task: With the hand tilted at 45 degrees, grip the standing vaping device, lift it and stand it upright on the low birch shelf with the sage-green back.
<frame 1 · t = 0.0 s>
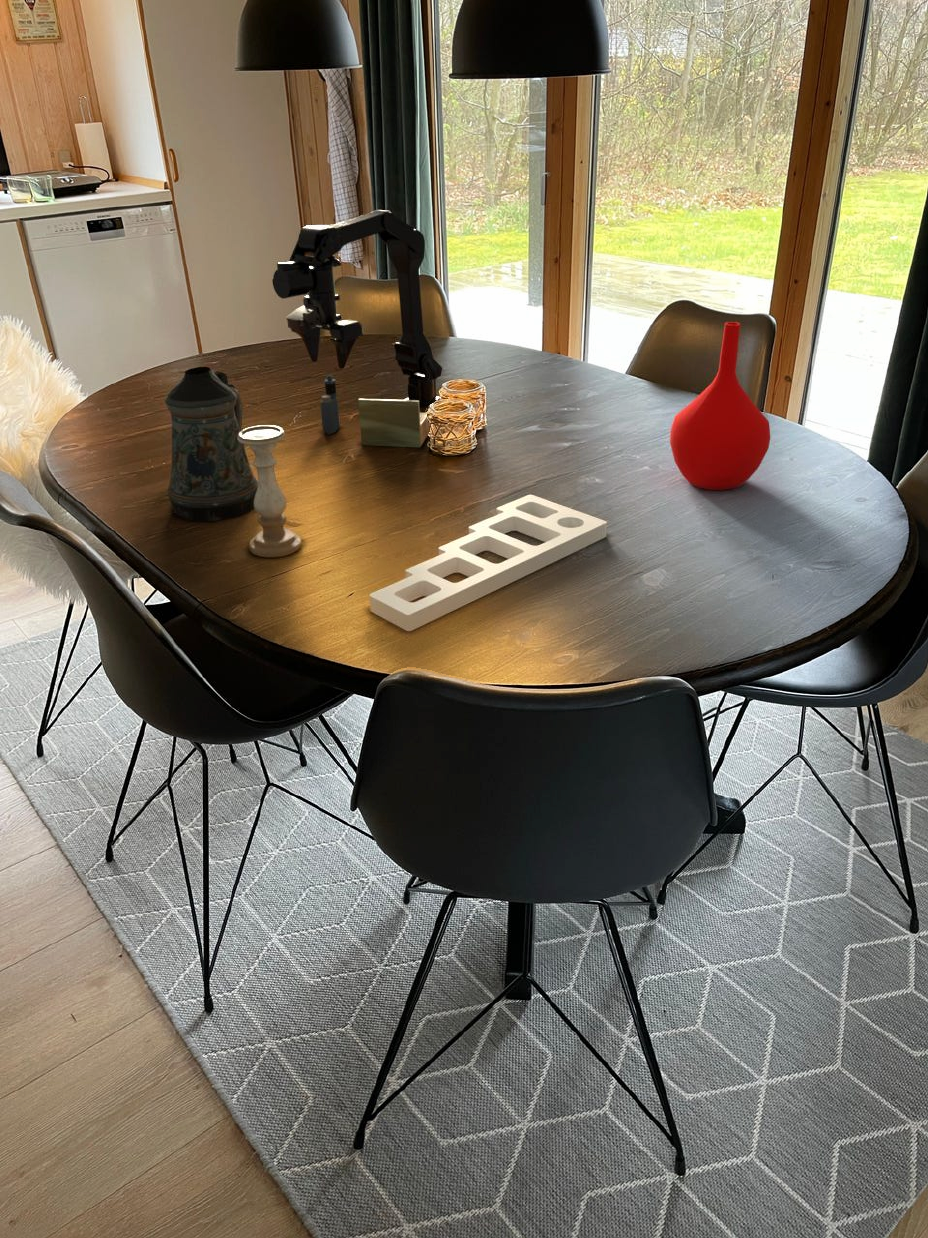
hand: (328, 364, 209), 15 cm above the table, tool pointing down, fingers open, 9 cm apart
beer stein: (216, 502, 182), on the table
vaping device: (331, 431, 216), on the table
holder: (476, 563, 157), on the table
vase: (714, 482, 185), on the table
candle holder: (275, 548, 163), on the table
shelf: (396, 437, 211), on the table
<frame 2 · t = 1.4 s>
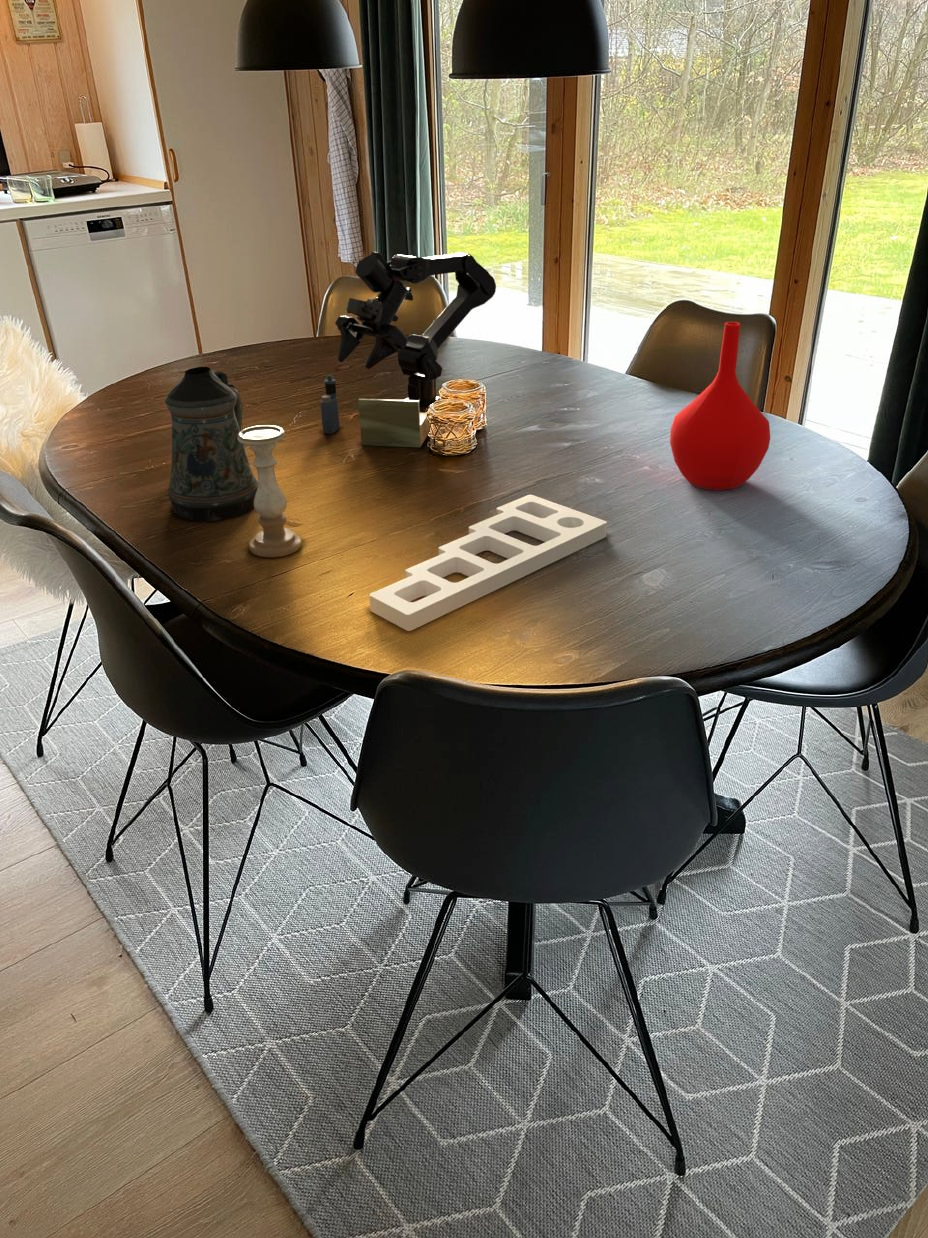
hand: (353, 364, 215), 13 cm above the table, tool tilted 45°, fingers open, 9 cm apart
nothing on the table moved.
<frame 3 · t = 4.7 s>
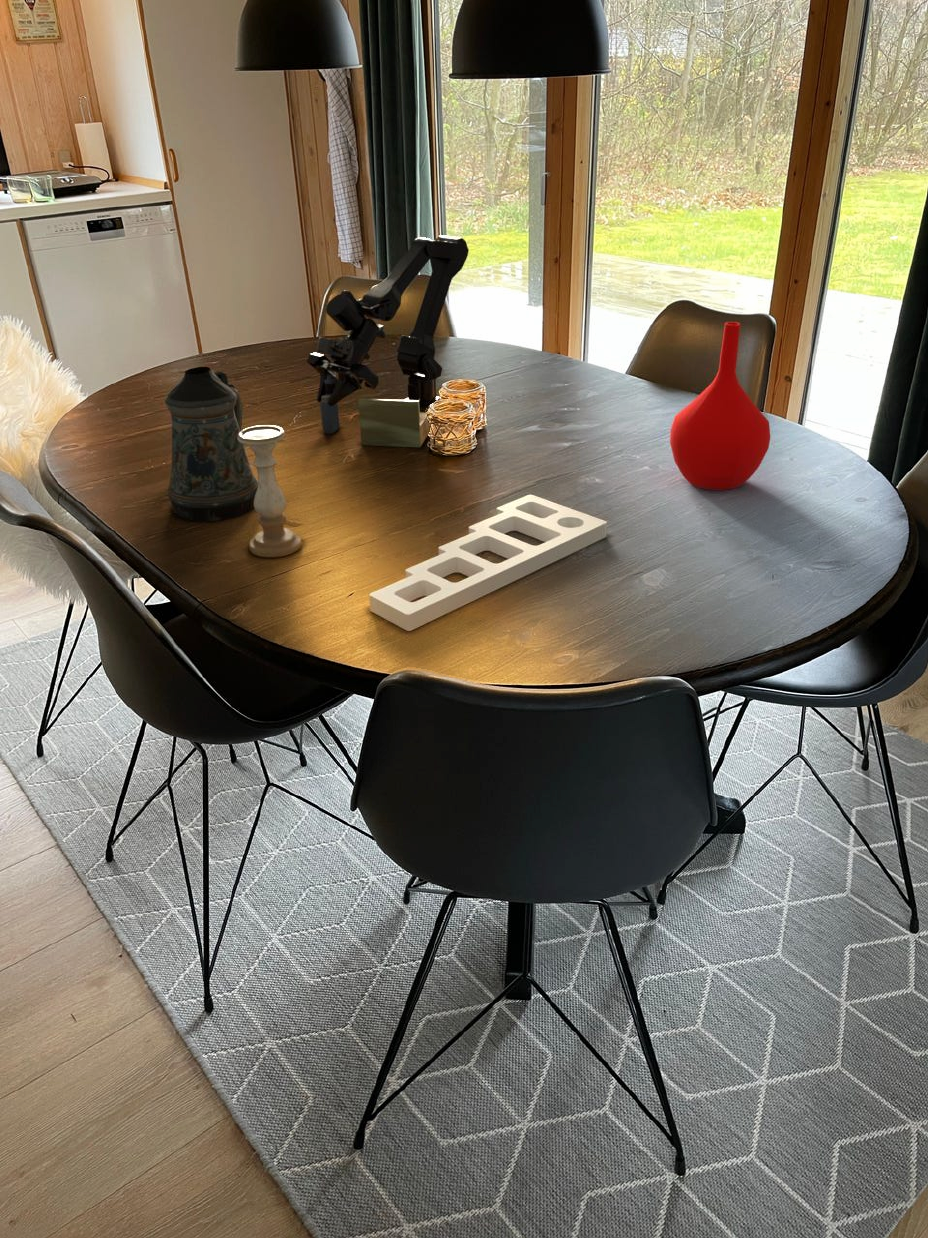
hand: (324, 403, 212), 7 cm above the table, tool tilted 45°, fingers closed on vaping device, 3 cm apart
vaping device: (331, 431, 216), on the table, touching gripper
everything else where it was.
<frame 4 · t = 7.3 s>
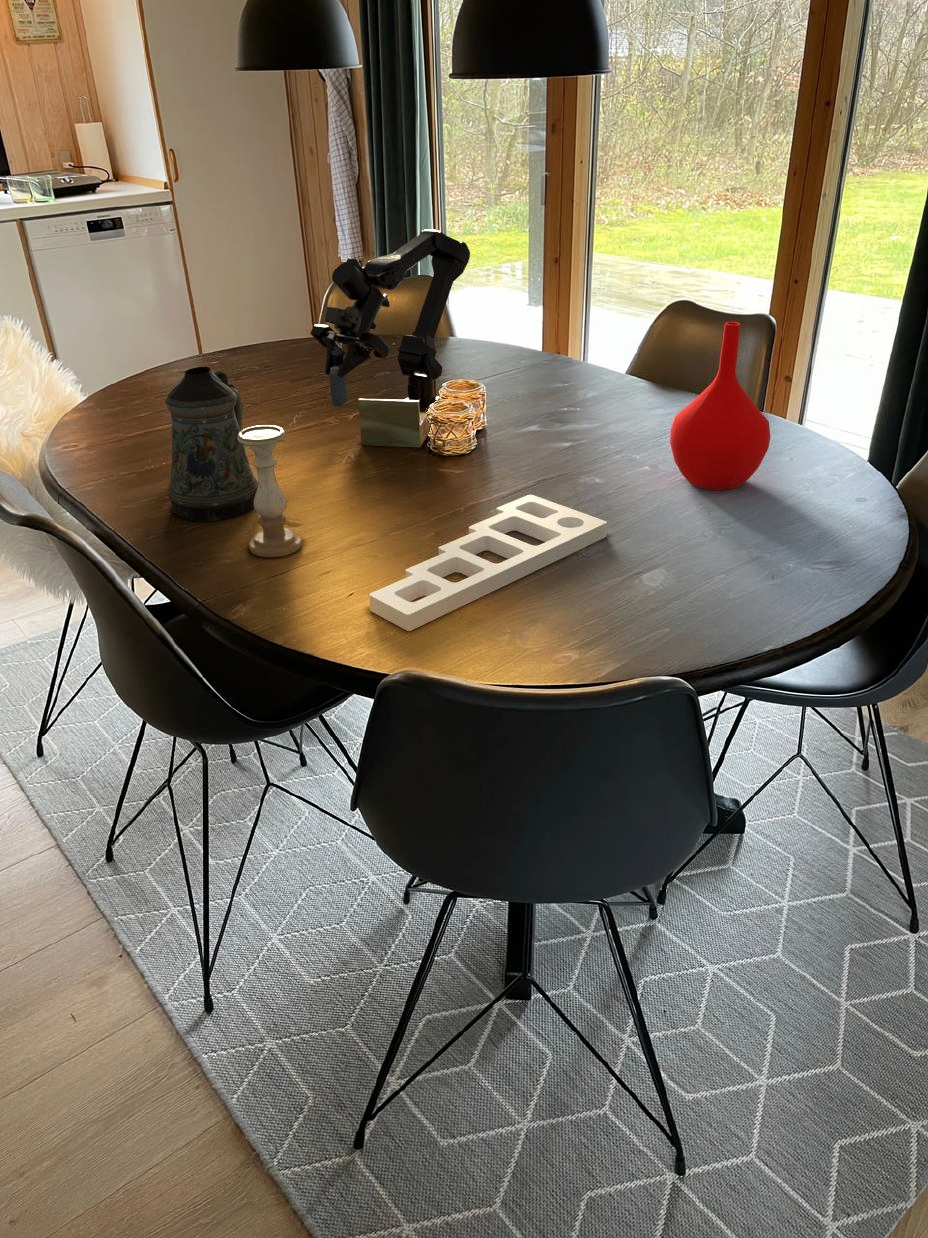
hand: (333, 375, 207), 13 cm above the table, tool tilted 45°, fingers closed on vaping device, 3 cm apart
vaping device: (340, 403, 212), point 7 cm above the table, touching gripper
everything else where it was.
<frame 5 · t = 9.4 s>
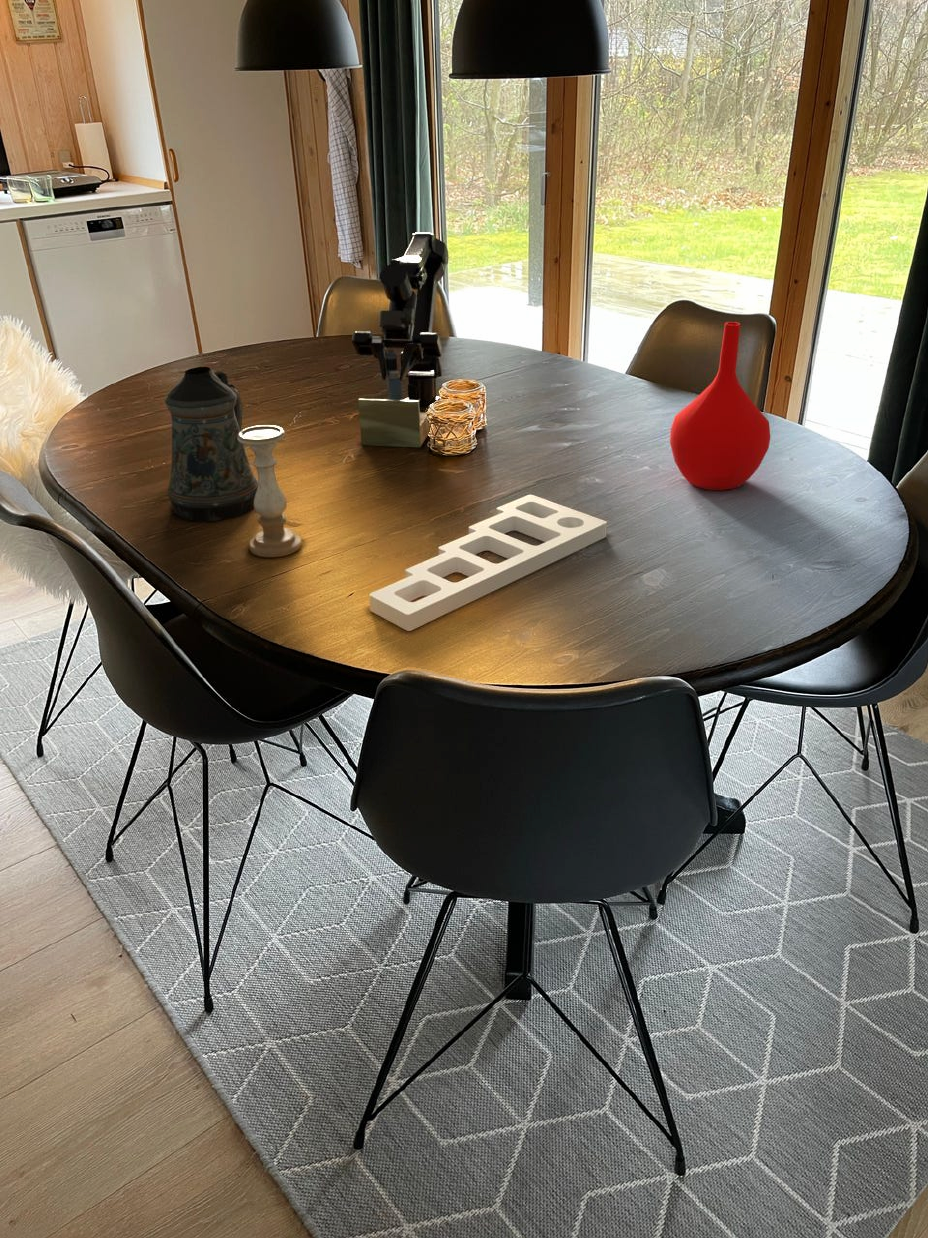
hand: (392, 379, 204), 13 cm above the table, tool tilted 45°, fingers closed on vaping device, 3 cm apart
vaping device: (395, 408, 208), point 6 cm above the table, touching gripper
everything else where it was.
when the fingers open (11 cm above the table, at t = 10.5 s): vaping device stays where it is, resting on shelf.
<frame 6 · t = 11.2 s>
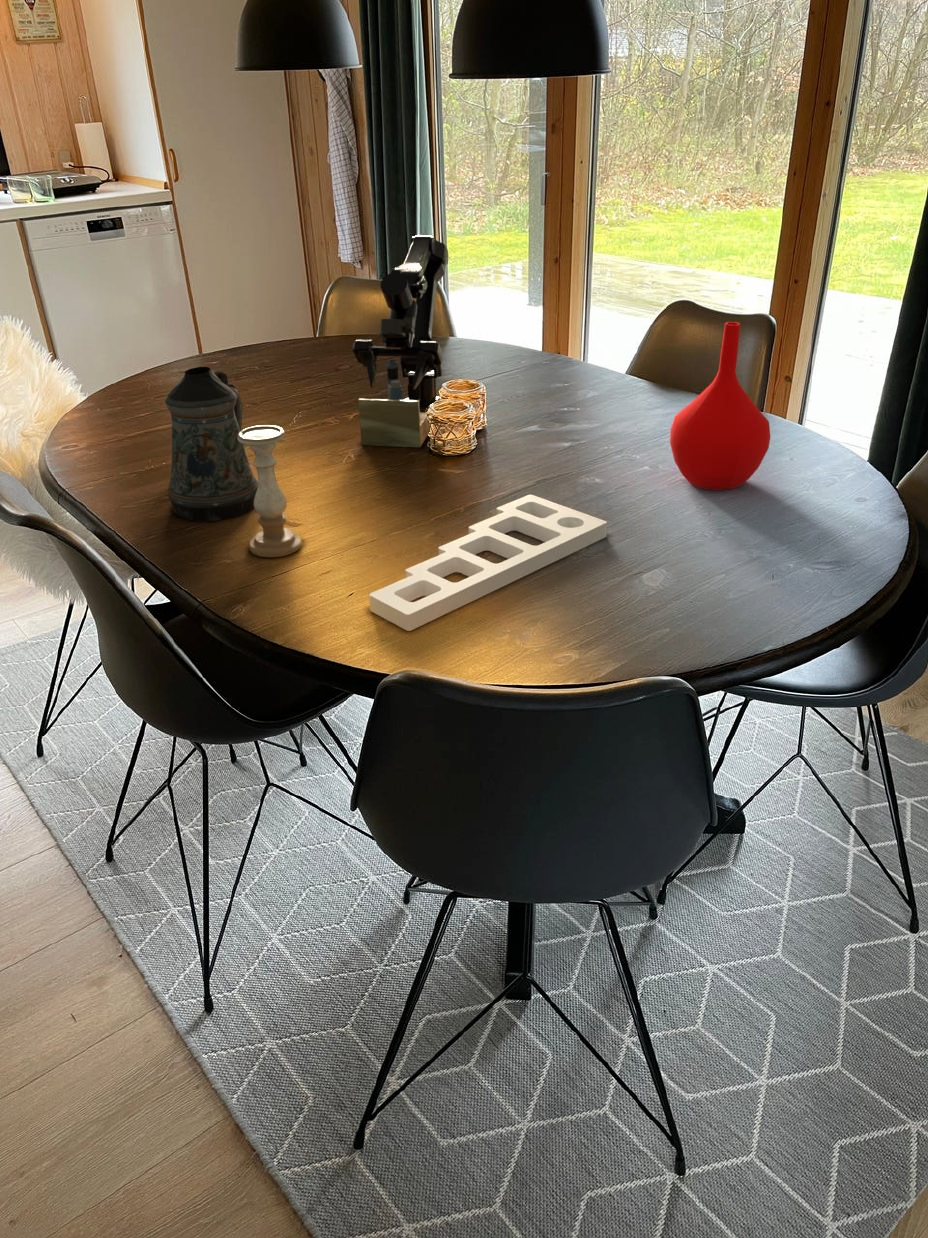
hand: (392, 387, 205), 11 cm above the table, tool tilted 45°, fingers open, 9 cm apart
vaping device: (396, 417, 209), point 4 cm above the table, touching shelf
everything else where it was.
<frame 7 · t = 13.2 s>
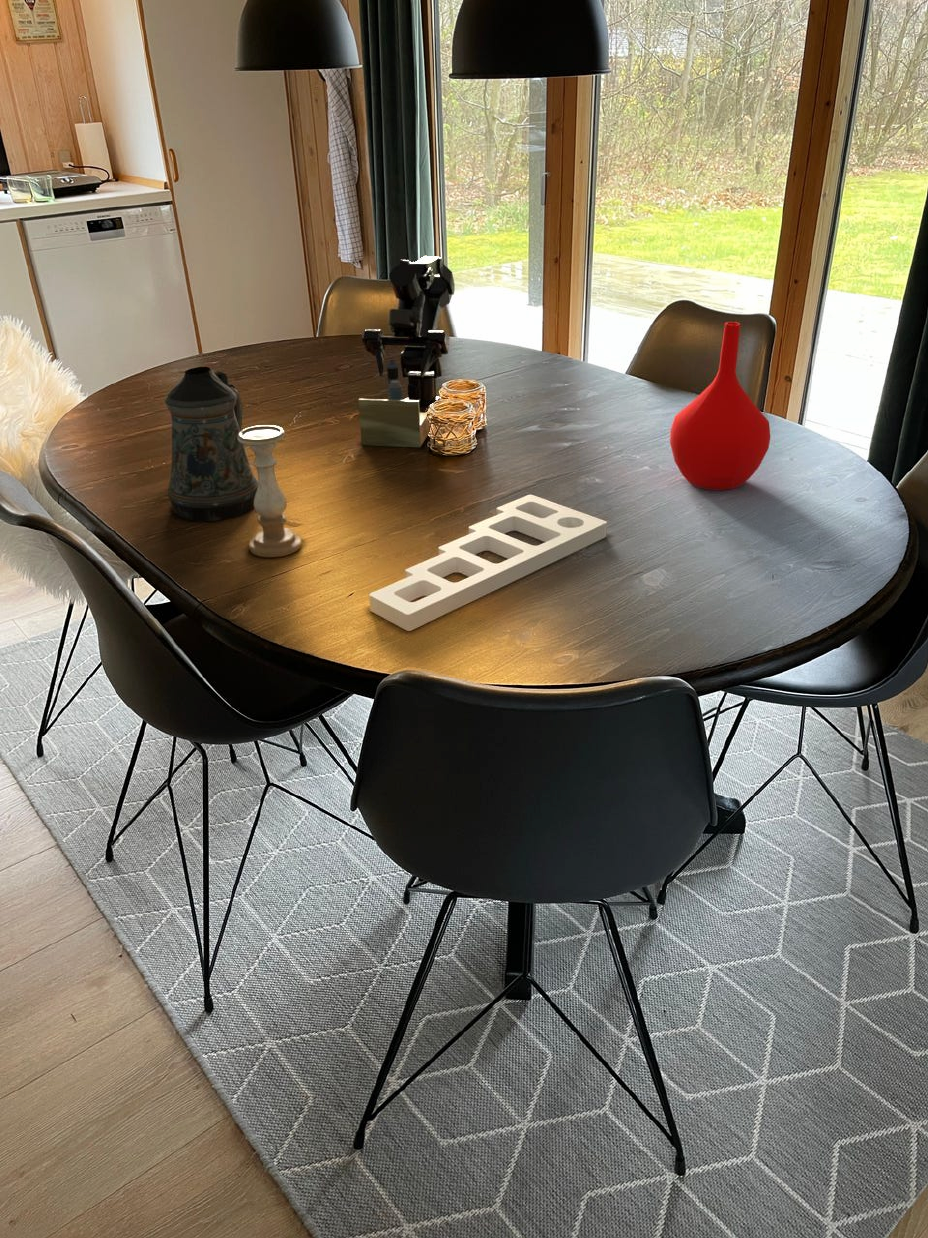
hand: (400, 375, 211), 12 cm above the table, tool tilted 45°, fingers open, 9 cm apart
nothing on the table moved.
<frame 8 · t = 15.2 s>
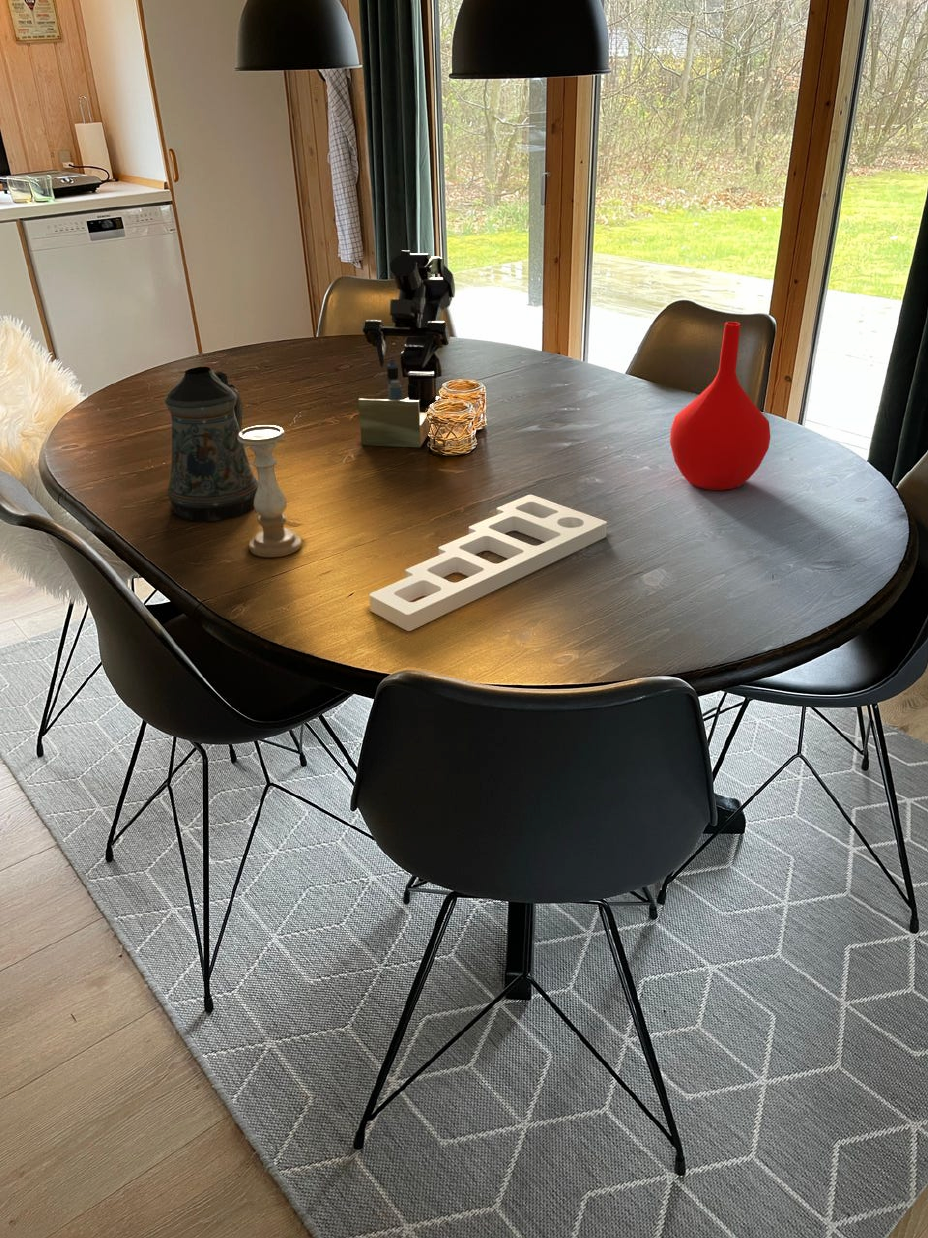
hand: (401, 366, 211), 14 cm above the table, tool tilted 45°, fingers open, 9 cm apart
nothing on the table moved.
at the end: vaping device inside the target area on the shelf (0.4 cm from its centre), point 4.3 cm above the shelf's base; vaping device tilted 0°; the gripper is holding nothing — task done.
